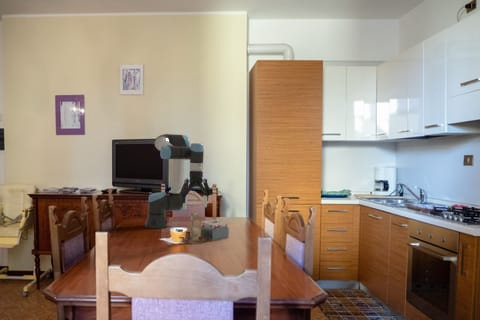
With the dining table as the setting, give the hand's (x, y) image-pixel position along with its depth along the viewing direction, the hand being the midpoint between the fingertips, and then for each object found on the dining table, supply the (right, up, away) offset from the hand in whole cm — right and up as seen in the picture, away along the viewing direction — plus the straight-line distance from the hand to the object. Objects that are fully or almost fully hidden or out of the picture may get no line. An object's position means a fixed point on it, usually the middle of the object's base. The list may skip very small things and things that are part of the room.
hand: (195, 207), depth 178 cm
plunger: (+10, -15, +10) cm, 21 cm away
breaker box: (+10, -20, +10) cm, 25 cm away
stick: (0, -19, 0) cm, 19 cm away
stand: (-5, -20, +9) cm, 22 cm away
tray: (0, -20, 0) cm, 20 cm away
